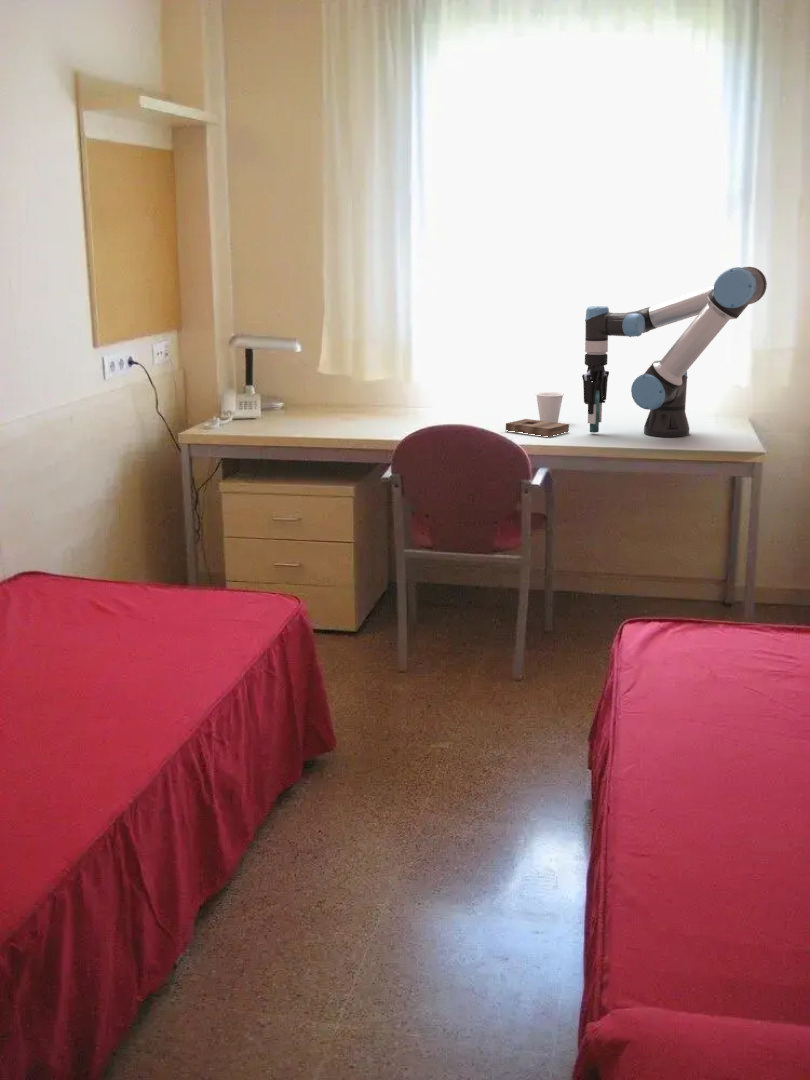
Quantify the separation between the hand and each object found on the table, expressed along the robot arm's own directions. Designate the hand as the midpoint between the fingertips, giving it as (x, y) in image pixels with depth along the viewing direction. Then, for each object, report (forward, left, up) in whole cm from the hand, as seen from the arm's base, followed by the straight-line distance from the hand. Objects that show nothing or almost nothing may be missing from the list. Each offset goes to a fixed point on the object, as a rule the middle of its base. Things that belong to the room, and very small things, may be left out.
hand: (594, 422), depth 392 cm
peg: (0, 0, -3) cm, 3 cm away
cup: (+23, -7, -4) cm, 25 cm away
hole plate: (+17, +9, -4) cm, 20 cm away
